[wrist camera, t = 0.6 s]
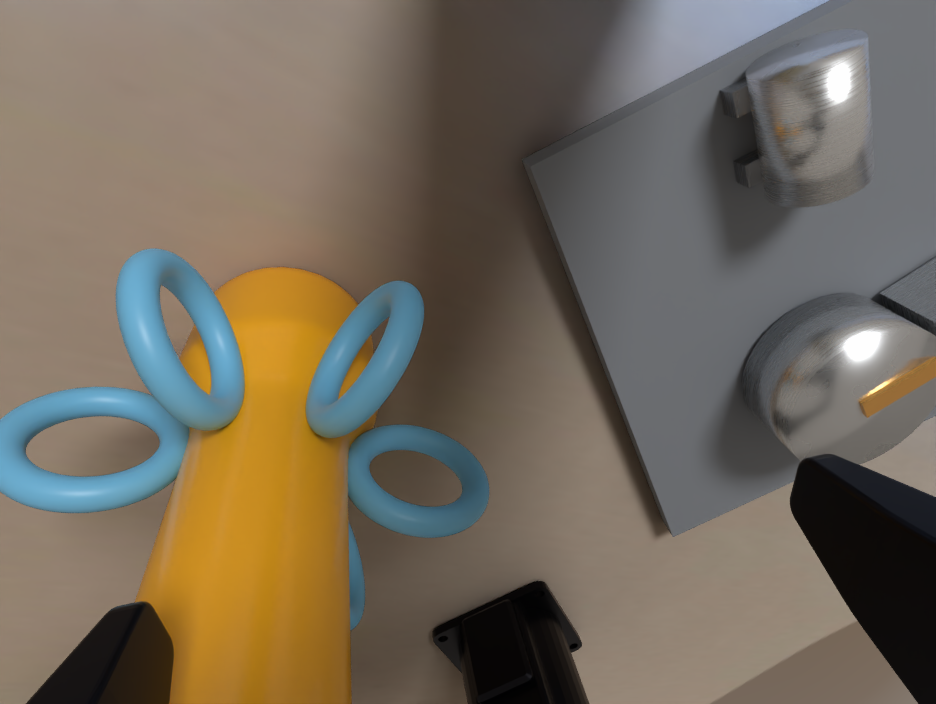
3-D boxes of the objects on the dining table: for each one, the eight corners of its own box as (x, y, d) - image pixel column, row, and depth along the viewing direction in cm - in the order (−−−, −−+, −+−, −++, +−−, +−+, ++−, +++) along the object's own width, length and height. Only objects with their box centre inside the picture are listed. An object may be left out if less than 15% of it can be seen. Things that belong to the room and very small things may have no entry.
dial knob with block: (767, 448, 27) (816, 498, 24) (720, 356, 23) (770, 401, 21) (1009, 301, 25) (1091, 337, 22) (994, 178, 22) (1088, 204, 19)
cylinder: (473, 419, 24) (622, 874, 12) (234, 504, 24) (118, 1058, 11) (363, 119, 18) (427, 409, 5) (34, 234, 18) (-753, 828, 5)
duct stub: (831, 146, 20) (905, 168, 17) (738, 193, 20) (798, 221, 18) (820, 24, 18) (903, 27, 15) (717, 77, 18) (781, 89, 15)
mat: (943, 391, 29) (962, 403, 28) (663, 522, 30) (673, 537, 29) (956, -66, 18) (987, -69, 17) (521, 159, 19) (530, 166, 18)
